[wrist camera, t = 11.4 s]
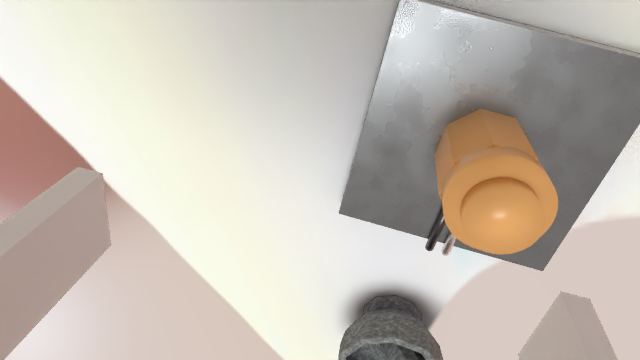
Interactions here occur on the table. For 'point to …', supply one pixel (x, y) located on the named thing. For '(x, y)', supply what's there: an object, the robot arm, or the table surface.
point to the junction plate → (496, 96)
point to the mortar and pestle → (389, 333)
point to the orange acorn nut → (493, 184)
